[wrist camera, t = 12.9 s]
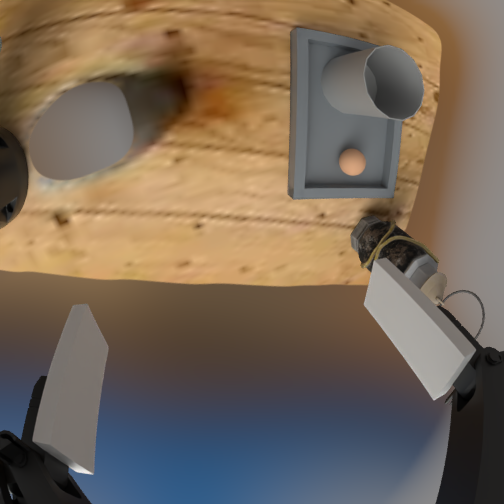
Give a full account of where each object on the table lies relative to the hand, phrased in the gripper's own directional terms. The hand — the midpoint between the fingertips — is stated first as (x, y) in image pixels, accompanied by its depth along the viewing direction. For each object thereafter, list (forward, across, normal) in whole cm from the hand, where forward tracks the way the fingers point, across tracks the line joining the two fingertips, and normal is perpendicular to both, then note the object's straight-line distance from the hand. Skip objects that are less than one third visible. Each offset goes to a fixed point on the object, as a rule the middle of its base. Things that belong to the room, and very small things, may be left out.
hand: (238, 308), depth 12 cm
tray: (+25, +19, +7) cm, 32 cm away
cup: (+24, +19, +11) cm, 33 cm away
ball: (+24, +19, +1) cm, 31 cm away
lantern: (+25, +24, -11) cm, 36 cm away
